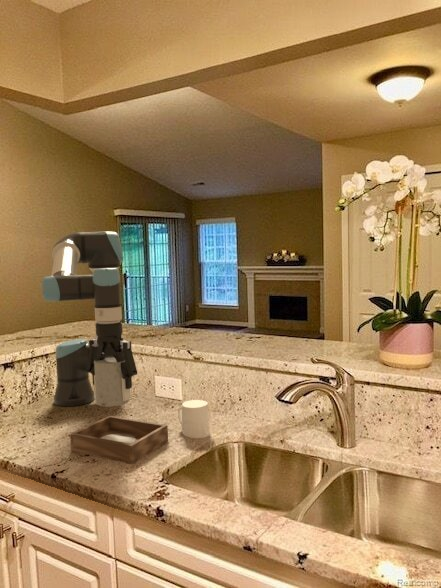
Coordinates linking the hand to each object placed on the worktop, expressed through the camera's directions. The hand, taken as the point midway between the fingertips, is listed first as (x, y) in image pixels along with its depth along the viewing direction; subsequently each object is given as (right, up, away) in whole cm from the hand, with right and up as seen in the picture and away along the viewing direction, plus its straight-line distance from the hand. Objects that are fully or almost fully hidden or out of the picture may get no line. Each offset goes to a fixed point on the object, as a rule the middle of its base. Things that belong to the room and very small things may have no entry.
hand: (112, 397), depth 144 cm
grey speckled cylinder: (0, -1, 0) cm, 1 cm away
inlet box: (+2, -14, 0) cm, 14 cm away
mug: (+23, -13, +10) cm, 28 cm away
